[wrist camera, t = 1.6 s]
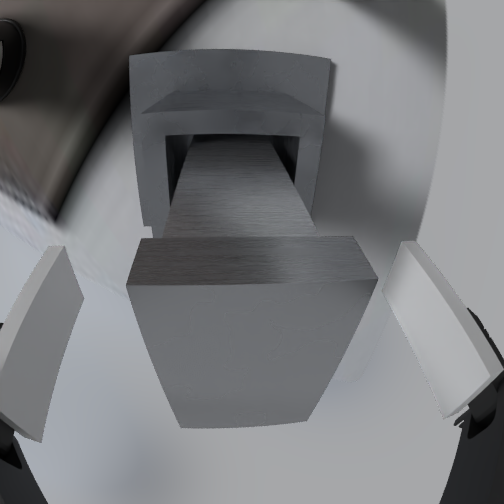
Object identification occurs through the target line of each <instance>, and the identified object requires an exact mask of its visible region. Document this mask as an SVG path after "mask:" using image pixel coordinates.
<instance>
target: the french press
mask: <svg viewBox="0 0 504 504" xmlns="http://www.w3.org/2000/svg"><path fill="white" fill-rule="evenodd" d="M0 41H2V46H3V58H2V65H1V70H0V101H1V100H3V99H4V98H5V97H6V96H7V95H8V94H9V93H10V92H11V90H12V89H13V88H14V86H15V84H16V83H17V81H18V79H19V76H20V74H21V72H22V68H23V65H24V60H25V54H26V42H25V36H24V33H23V30H22V28H21V27H20V25H19V24H18V23H17V22H15V21H14V20H11V19H0Z"/></svg>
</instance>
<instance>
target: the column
mask: <svg viewBox="0 0 504 504" xmlns="http://www.w3.org/2000/svg"><path fill="white" fill-rule="evenodd" d="M377 281H378V277H377V275H376V274H375V272H374V270H373V268H372V267H371V265H370V263H369V262H368V260H367V258H366V257H365V255H364V253H363V252H362V250H361V248H360V247H359V245H358V244H357V242H356V240H355V239H354V237H353V236H320V235H319V233H318V231H317V229H316V227H315V225H314V223H313V221H312V219H311V217H310V215H309V213H308V211H307V209H306V207H305V205H304V203H303V201H302V200H301V198H300V196H299V194H298V192H297V190H296V188H295V186H294V184H293V182H292V181H291V179H290V177H289V175H288V173H287V171H286V169H285V168H284V166H283V164H282V162H281V160H280V159H279V157H278V155H277V153H276V151H275V150H274V148H273V146H272V144H271V142H270V141H269V139H268V137H267V135H261V134H194V136H193V138H192V141H191V144H190V147H189V150H188V153H187V156H186V159H185V162H184V165H183V168H182V171H181V174H180V177H179V180H178V184H177V187H176V190H175V193H174V197H173V200H172V204H171V207H170V210H169V214H168V217H167V221H166V225H165V228H164V232H163V236H162V238H143V239H141V241H140V244H139V247H138V250H137V253H136V256H135V259H134V262H133V265H132V268H131V271H130V274H129V277H128V280H127V283H126V288H127V291H128V294H129V298H130V301H131V304H132V307H133V310H134V313H135V316H136V319H137V322H138V325H139V328H140V331H141V334H142V336H143V339H144V342H145V345H146V347H147V350H148V353H149V355H150V358H151V361H152V363H153V365H154V368H155V371H156V373H157V376H158V378H159V380H160V383H161V385H162V388H163V390H164V392H165V395H166V397H167V399H168V401H169V403H170V406H171V408H172V410H173V412H174V414H175V417H176V419H177V421H178V423H179V425H180V427H181V428H238V427H255V426H268V425H278V424H288V423H295V422H303V421H307V420H308V418H309V416H310V415H311V413H312V412H313V410H314V408H315V407H316V405H317V403H318V402H319V400H320V398H321V396H322V395H323V393H324V391H325V389H326V388H327V386H328V384H329V382H330V380H331V378H332V377H333V375H334V373H335V371H336V369H337V367H338V365H339V363H340V362H341V360H342V358H343V356H344V354H345V352H346V350H347V348H348V346H349V344H350V342H351V340H352V338H353V335H354V333H355V331H356V329H357V327H358V325H359V323H360V321H361V318H362V316H363V314H364V312H365V310H366V307H367V305H368V303H369V300H370V298H371V296H372V293H373V291H374V289H375V286H376V284H377Z"/></svg>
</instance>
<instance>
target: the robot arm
mask: <svg viewBox="0 0 504 504" xmlns="http://www.w3.org/2000/svg"><path fill="white" fill-rule="evenodd" d="M382 293H383V294H384V296H385V298H386V300H387V302H388V304H389V305H390V307H391V309H392V311H393V313H394V314H395V317H396V318H397V320H398V322H399V324H400V326H401V328H402V330H403V332H404V334H405V336H406V338H407V339H408V341H409V344H410V346H411V348H412V350H413V352H414V354H415V356H416V358H417V360H418V362H419V364H420V366H421V368H422V371H423V373H424V375H425V377H426V379H427V382H428V384H429V386H430V388H431V391H432V393H433V395H434V398H435V400H436V402H437V405H438V407H439V409H440V412H441V414H442V417H443V419H445V418H447V417H450V416H452V415H454V414H456V413H458V412H459V411H461V410H462V409H463V408H464V407H465V406H466V405H468V406H469V408H470V409H468V410H467V411H466V412H465V413H464V414H462V415H461V416H460V417H459V418H458V419H457V420H456V421H455V423H454V426H456V425H457V424H459V423H460V422H461V421H463V420H464V422H463V423H461V424H460V425H459V427H460V428H462V432H461V436H460V441H459V445H458V449H457V452H456V456H455V459H454V463H453V466H452V469H451V472H450V476H449V479H448V482H447V485H446V487H445V490H444V493H443V496H442V498H441V501H440V503H439V504H504V359H503V357H502V355H501V354H500V352H499V350H498V349H497V347H496V345H495V344H494V342H493V340H492V339H491V338H490V337H489V334H488V332H487V331H486V329H484V326H483V324H482V323H481V321H480V320H479V318H478V317H477V316H476V315H475V314H474V313H473V312H472V311H471V310H470V309H469V308H466V307H465V305H464V304H463V303H462V301H461V299H460V298H459V297H458V295H457V294H456V292H455V291H454V290H453V288H452V287H451V286H450V284H449V283H448V281H447V280H446V279H445V277H444V276H443V275H442V273H441V272H440V271H439V270H438V268H437V267H436V266H435V265H434V263H433V262H432V261H431V259H430V258H429V257H428V256H427V254H426V253H425V252H424V251H423V249H422V248H421V247H420V246H419V244H418V243H417V242H416V241H401V244H400V246H399V249H398V252H397V254H396V257H395V260H394V262H393V265H392V267H391V270H390V272H389V275H388V277H387V280H386V282H385V284H384V287H383V289H382ZM83 300H84V297H83V294H82V292H81V290H80V287H79V285H78V282H77V279H76V277H75V274H74V271H73V269H72V266H71V263H70V260H69V258H68V255H67V252H66V249H65V246H49V247H48V248H47V250H46V251H45V253H44V254H43V256H42V257H41V259H40V261H39V262H38V264H37V265H36V267H35V268H34V270H33V272H32V273H31V275H30V277H29V278H28V280H27V282H26V283H25V285H24V287H23V288H22V290H21V292H20V294H19V296H18V298H17V299H16V301H15V303H14V305H13V307H12V308H11V310H10V312H9V314H8V316H7V318H6V320H5V322H4V323H0V504H48V503H47V501H46V499H45V498H44V496H43V494H42V492H41V490H40V488H39V486H38V485H37V483H36V481H35V478H34V476H33V474H32V473H31V470H30V468H29V466H28V464H27V462H26V460H25V457H24V455H23V453H22V450H21V448H20V445H19V443H18V441H17V439H16V438H15V436H13V435H14V431H17V432H18V433H19V434H21V435H22V436H23V437H25V438H28V439H31V440H34V441H37V442H40V443H41V442H42V437H43V432H44V427H45V423H46V418H47V414H48V409H49V405H50V401H51V397H52V393H53V390H54V386H55V382H56V379H57V375H58V372H59V369H60V365H61V362H62V359H63V356H64V353H65V350H66V347H67V343H68V341H69V338H70V335H71V332H72V329H73V326H74V324H75V321H76V318H77V316H78V313H79V310H80V308H81V305H82V303H83Z"/></svg>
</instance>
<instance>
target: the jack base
mask: <svg viewBox="0 0 504 504" xmlns="http://www.w3.org/2000/svg"><path fill="white" fill-rule="evenodd" d="M330 63H331V59H328V58H322V57H316V56H309V55H302V54H293V53H284V52H273V51H260V50H238V49H201V50H180V51H166V52H156V53H146V54H138V55H131V56H129V75H130V103H131V120H132V134H133V145H134V156H135V165H136V174H137V182H138V190H139V198H140V205H141V211H142V218H143V224H144V226H151V227H152V233H153V238H162V236H163V232H164V228H165V225H166V221H167V217H168V214H169V210H170V207H171V204H172V200H173V197H174V193H175V190H176V187H177V184H178V180H179V177H180V174H181V171H182V168H183V165H184V162H185V159H186V156H187V153H188V150H189V147H190V144H191V141H192V138H193V136H194V134H261V135H267V137H268V139H269V141H270V142H271V144H272V146H273V148H274V150H275V151H276V153H277V155H278V157H279V159H280V160H281V162H282V164H283V166H284V168H285V169H286V171H287V173H288V175H289V177H290V179H291V181H292V182H293V184H294V186H295V188H296V190H297V192H298V194H299V196H300V198H301V200H302V201H303V203H304V205H305V207H306V209H307V211H308V213H309V215H310V216H311V211H312V205H313V199H314V193H315V187H316V181H317V174H318V168H319V161H320V154H321V148H322V141H323V133H324V126H325V118H326V116H325V108H326V100H327V91H328V82H329V73H330Z"/></svg>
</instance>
